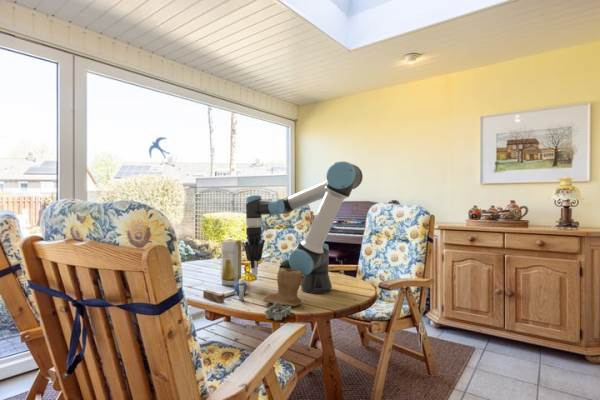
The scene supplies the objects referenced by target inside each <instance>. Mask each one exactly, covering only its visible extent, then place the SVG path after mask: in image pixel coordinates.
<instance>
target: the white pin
mask: <svg viewBox="0 0 600 400" xmlns="http://www.w3.org/2000/svg"><path fill="white" fill-rule="evenodd" d="M236 293H237V292H236V291H235V290H234V289H232V290H229V291H226V292H221V293H220V294H222V295H224V298H226V297H230V296H234V295H236Z"/></svg>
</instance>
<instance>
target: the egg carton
mask: <svg viewBox="0 0 600 400" xmlns="http://www.w3.org/2000/svg"><path fill="white" fill-rule="evenodd" d="M292 307H293V306H287V305H282V303H279V302H278V301H277V302H275V303H274V304H273V303H272V305H271V306H270V307H268V308H267V309H266V310H265V311H264V312H263V313H265V318H266V319H268V320H269V319H273V320H274V321H281V320H283V318H286V317H287V315H291V314H290V313H292V312H291V308H292ZM279 310H281V311H279Z"/></svg>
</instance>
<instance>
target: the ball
mask: <svg viewBox="0 0 600 400" xmlns="http://www.w3.org/2000/svg"><path fill="white" fill-rule="evenodd" d="M233 286H234V287H233V290H235V292H236V293H237V294H239V281H238V282H236V283H235V285H233ZM247 289H248V285H247V282H246V281H244V293H246V291H247Z"/></svg>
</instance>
